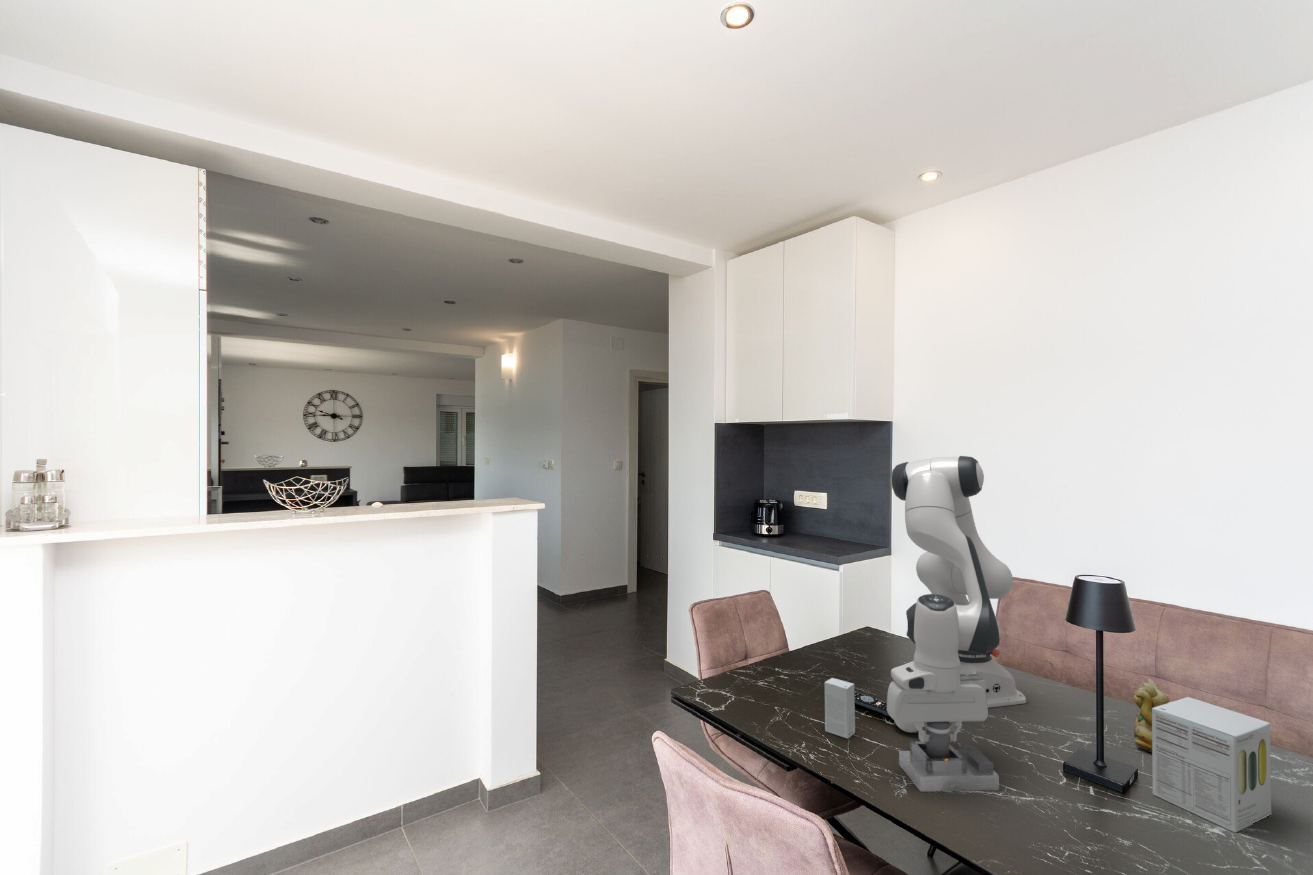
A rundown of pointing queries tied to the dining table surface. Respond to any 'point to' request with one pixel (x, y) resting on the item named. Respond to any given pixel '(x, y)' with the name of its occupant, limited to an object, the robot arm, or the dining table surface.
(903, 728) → the white egg
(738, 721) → the dining table surface
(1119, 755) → the dining table surface
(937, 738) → the lens
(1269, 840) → the dining table surface
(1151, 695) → the decorative figurine
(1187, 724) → the supplement box
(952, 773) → the grey holder dock
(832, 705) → the skincare box
